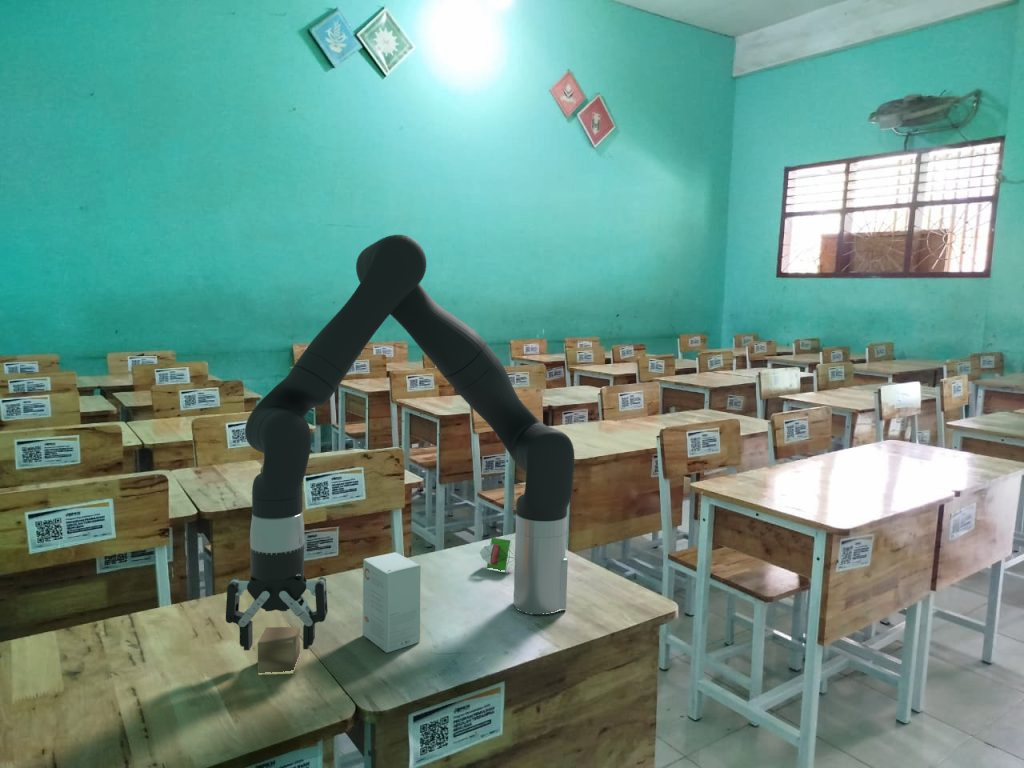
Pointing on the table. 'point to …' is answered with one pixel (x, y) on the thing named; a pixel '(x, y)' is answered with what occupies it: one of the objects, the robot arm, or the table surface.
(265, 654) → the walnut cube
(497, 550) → the geometric puzzle
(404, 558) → the small box
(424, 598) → the table surface
